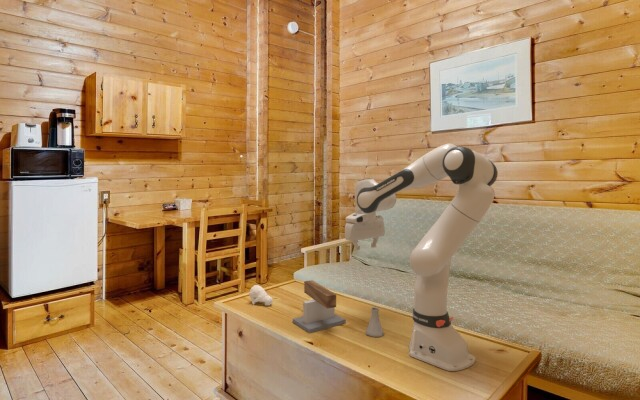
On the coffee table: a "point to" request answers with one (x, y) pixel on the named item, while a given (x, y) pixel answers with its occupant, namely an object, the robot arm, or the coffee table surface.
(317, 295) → the walnut stick
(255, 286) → the white animal figurine
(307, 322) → the stand
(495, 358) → the coffee table surface
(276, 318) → the coffee table surface
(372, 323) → the flask
